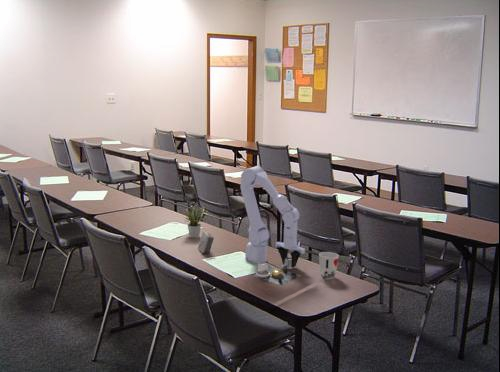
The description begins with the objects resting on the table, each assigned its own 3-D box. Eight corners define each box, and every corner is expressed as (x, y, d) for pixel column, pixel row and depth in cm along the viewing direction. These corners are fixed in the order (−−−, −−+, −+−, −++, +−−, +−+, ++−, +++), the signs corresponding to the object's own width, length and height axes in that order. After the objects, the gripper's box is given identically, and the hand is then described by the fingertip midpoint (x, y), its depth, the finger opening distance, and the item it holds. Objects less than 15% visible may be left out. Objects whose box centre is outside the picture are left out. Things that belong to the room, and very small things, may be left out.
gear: (279, 269, 231) (280, 258, 230) (287, 265, 236) (287, 255, 235) (290, 272, 227) (291, 261, 226) (298, 268, 232) (298, 258, 231)
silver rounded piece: (252, 275, 219) (253, 264, 218) (261, 272, 223) (261, 260, 222) (264, 279, 215) (264, 267, 214) (272, 275, 220) (273, 264, 219)
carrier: (251, 278, 219) (252, 269, 218) (273, 269, 230) (273, 260, 229) (280, 288, 209) (281, 278, 209) (301, 278, 221) (302, 268, 220)
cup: (322, 281, 218) (324, 258, 216) (315, 274, 225) (316, 252, 223) (340, 279, 220) (341, 257, 218) (332, 273, 228) (333, 251, 226)
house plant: (212, 232, 285) (212, 203, 282) (207, 240, 271) (207, 209, 268) (186, 231, 286) (186, 202, 283) (180, 238, 273) (180, 208, 269)
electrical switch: (197, 248, 258) (199, 230, 256) (207, 248, 259) (209, 230, 258) (202, 254, 249) (204, 235, 247) (212, 254, 250) (214, 235, 249)
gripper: (309, 237, 227) (308, 267, 230) (282, 230, 236) (281, 259, 239) (300, 240, 222) (298, 271, 224) (272, 234, 231) (272, 263, 233)
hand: (289, 265), depth 231 cm, fingers closed on gear, 4 cm apart
